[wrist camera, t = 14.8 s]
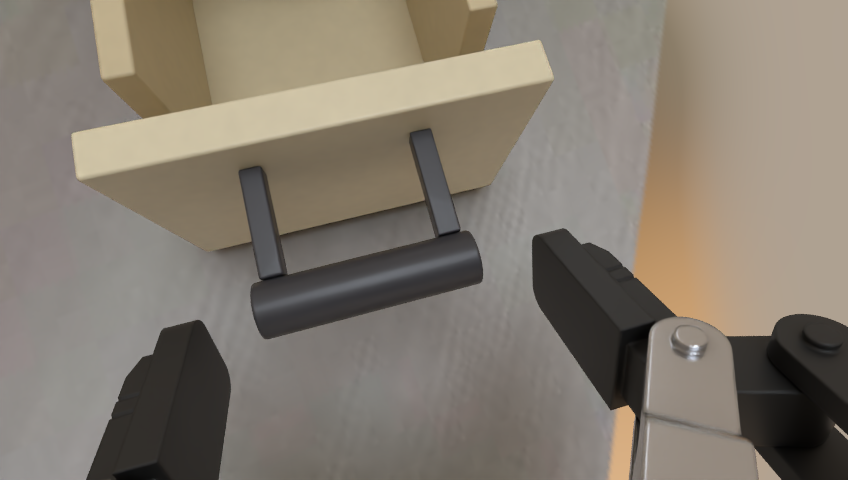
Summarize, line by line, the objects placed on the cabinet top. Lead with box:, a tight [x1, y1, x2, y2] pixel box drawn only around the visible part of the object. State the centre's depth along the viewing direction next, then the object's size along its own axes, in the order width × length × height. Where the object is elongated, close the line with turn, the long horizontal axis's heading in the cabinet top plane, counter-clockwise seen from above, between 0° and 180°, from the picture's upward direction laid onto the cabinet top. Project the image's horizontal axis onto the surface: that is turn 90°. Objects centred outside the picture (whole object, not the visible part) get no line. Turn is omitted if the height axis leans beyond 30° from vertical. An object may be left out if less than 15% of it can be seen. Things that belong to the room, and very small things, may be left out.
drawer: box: [71, 0, 554, 339], centre depth 16 cm, size 19×11×8 cm, turn 15°
